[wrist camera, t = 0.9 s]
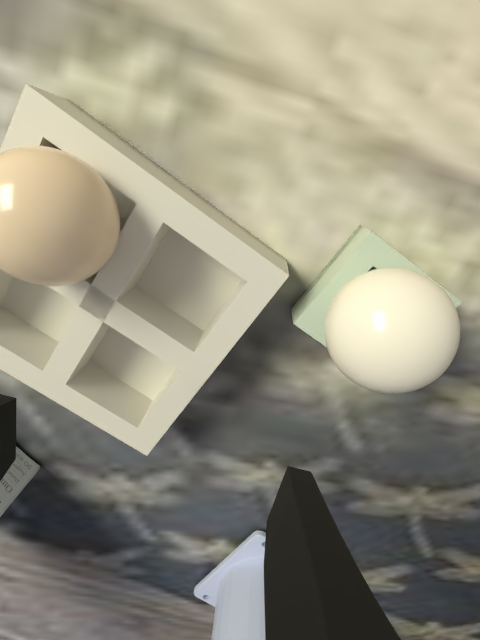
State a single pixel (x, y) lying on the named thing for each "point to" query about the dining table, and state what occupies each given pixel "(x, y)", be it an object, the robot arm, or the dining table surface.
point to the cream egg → (392, 330)
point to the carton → (132, 289)
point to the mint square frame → (347, 278)
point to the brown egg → (54, 217)
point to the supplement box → (16, 479)
